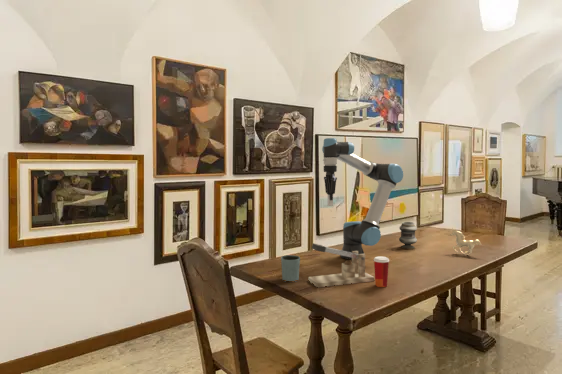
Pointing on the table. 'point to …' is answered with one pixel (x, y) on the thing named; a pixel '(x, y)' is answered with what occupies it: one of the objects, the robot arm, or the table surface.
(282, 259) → the blue grey planter pot
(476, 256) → the table surface
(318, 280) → the press base
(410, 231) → the apothecary jar
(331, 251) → the lever
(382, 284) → the paper cup
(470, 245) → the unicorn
